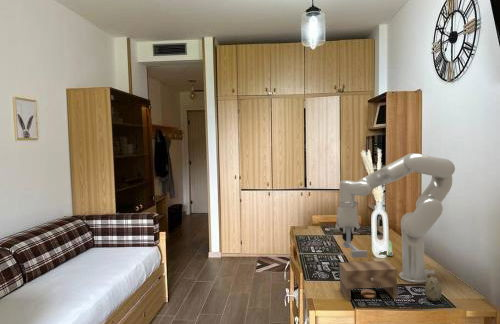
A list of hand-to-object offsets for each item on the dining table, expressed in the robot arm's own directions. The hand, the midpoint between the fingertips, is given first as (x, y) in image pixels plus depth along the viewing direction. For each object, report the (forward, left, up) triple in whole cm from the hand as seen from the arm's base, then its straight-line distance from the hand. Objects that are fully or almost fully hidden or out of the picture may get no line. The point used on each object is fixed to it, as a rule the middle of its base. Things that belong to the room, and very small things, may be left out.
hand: (347, 240), depth 162 cm
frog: (-30, -25, -17) cm, 43 cm away
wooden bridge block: (0, +25, -17) cm, 30 cm away
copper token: (0, +26, -17) cm, 31 cm away
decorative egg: (-24, +33, -17) cm, 44 cm away
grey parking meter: (0, +7, -3) cm, 8 cm away
